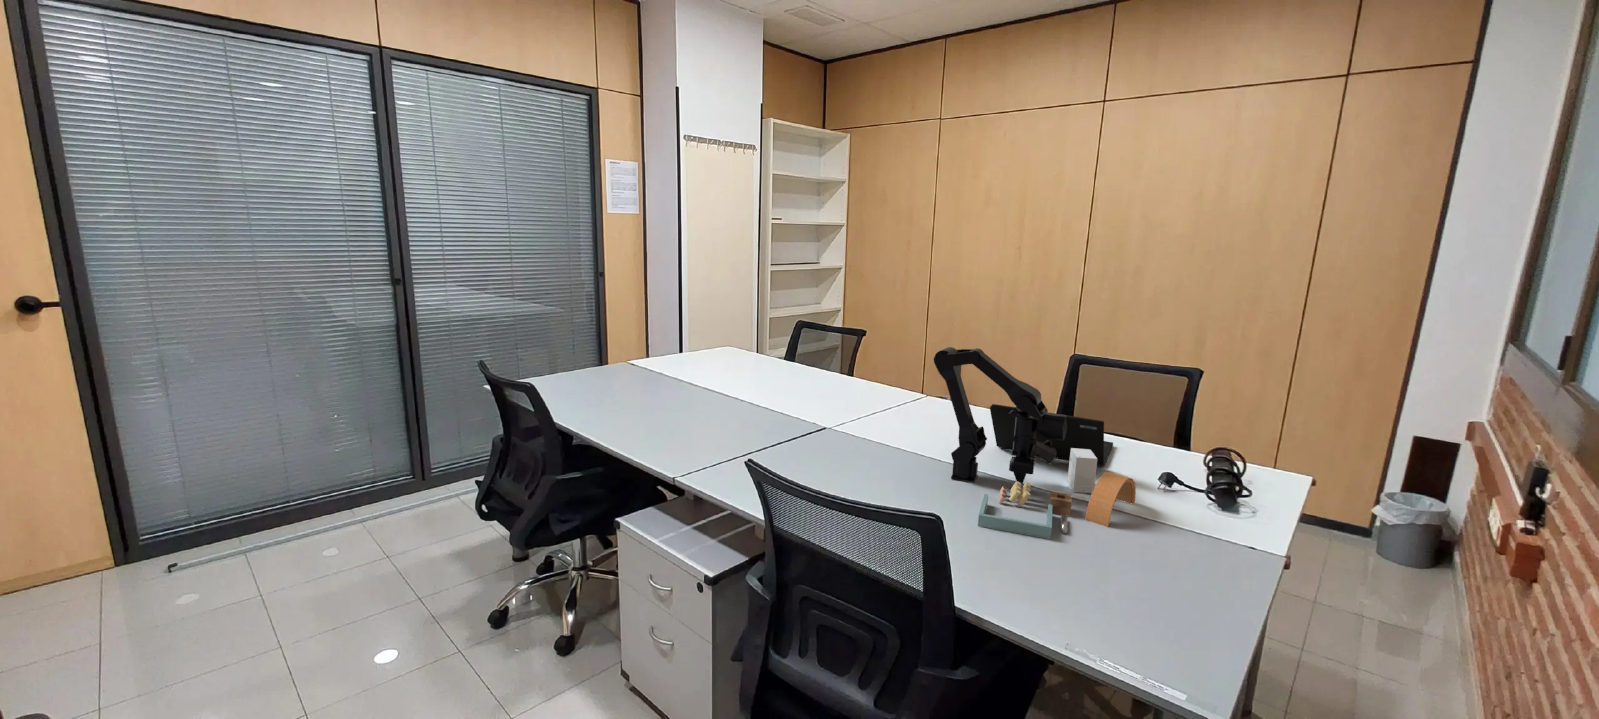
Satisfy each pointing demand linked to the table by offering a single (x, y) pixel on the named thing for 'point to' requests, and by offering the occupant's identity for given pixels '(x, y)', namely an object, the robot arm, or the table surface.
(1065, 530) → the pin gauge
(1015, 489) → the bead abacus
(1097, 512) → the arch
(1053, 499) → the bored block
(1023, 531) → the tray
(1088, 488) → the small box
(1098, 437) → the laptop
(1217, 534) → the table surface
